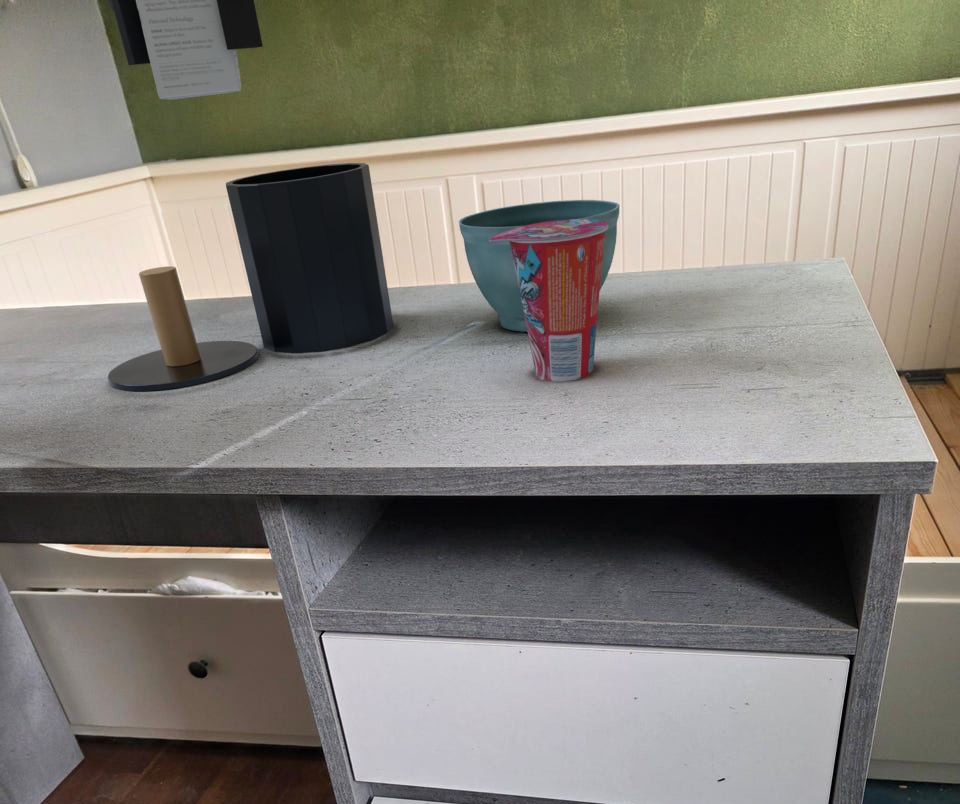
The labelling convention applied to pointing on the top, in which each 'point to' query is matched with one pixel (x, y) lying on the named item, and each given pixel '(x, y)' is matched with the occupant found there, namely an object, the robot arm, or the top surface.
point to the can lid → (177, 344)
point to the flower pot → (495, 257)
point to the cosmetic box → (188, 48)
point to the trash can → (312, 256)
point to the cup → (559, 292)
